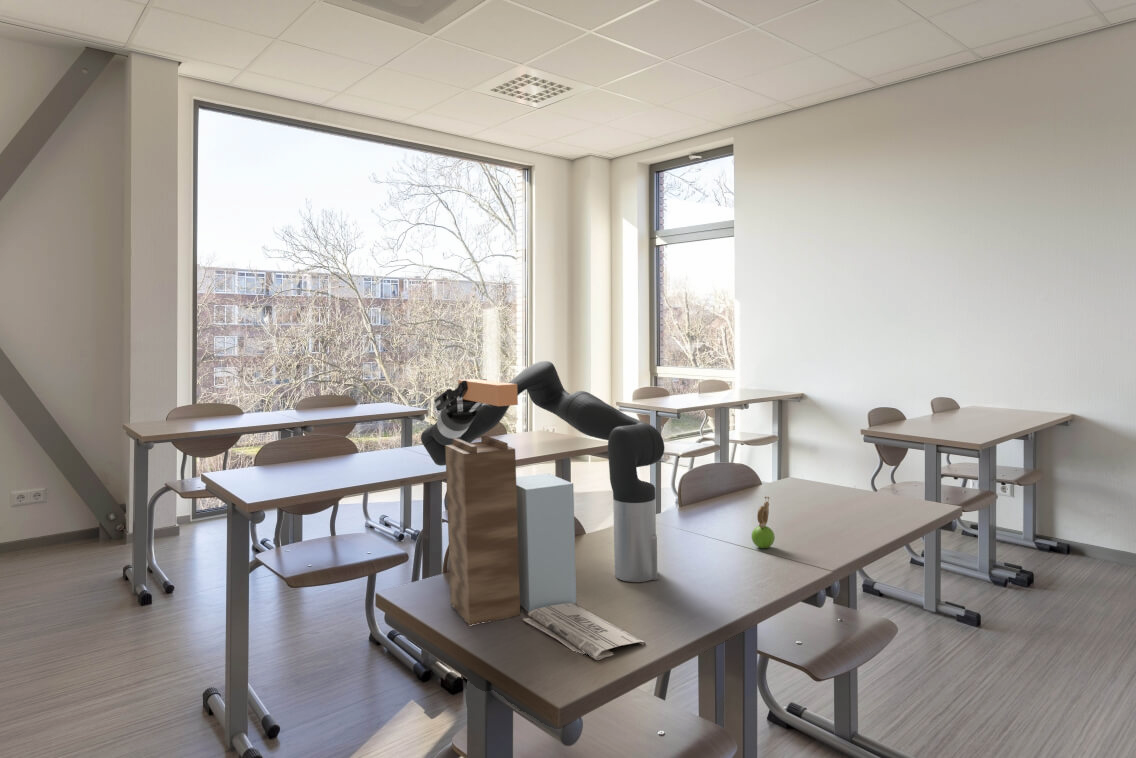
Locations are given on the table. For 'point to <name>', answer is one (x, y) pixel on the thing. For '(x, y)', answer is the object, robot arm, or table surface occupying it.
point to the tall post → (482, 529)
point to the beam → (491, 392)
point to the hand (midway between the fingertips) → (476, 383)
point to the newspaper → (580, 629)
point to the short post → (545, 541)
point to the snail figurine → (763, 528)
